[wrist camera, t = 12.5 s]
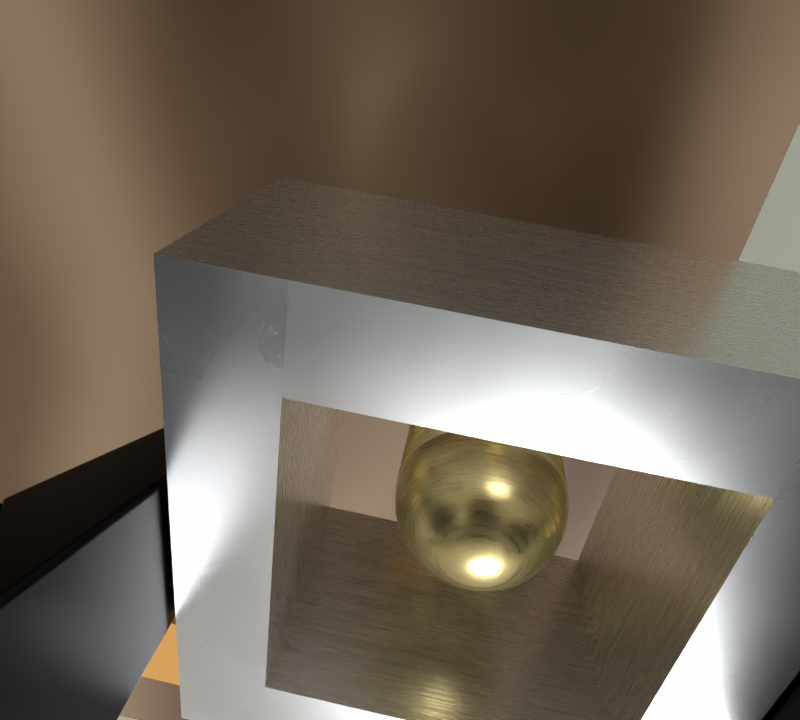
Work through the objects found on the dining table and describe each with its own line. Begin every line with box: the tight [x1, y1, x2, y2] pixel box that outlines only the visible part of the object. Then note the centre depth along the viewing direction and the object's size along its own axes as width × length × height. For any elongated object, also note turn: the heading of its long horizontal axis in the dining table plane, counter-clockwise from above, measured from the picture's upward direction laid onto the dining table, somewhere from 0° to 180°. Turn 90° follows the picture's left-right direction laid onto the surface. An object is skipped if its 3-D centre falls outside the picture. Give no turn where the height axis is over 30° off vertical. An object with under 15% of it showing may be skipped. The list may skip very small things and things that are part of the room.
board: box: [0, 0, 800, 720], centre depth 14 cm, size 20×24×6 cm
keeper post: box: [395, 424, 569, 591], centre depth 10 cm, size 2×2×6 cm
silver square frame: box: [154, 177, 800, 720], centre depth 8 cm, size 7×7×4 cm
